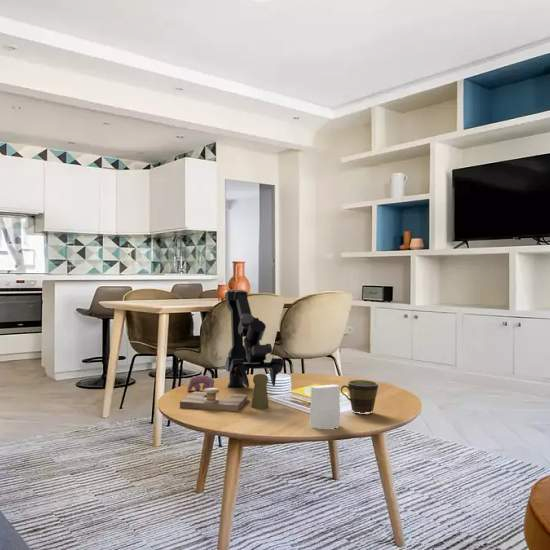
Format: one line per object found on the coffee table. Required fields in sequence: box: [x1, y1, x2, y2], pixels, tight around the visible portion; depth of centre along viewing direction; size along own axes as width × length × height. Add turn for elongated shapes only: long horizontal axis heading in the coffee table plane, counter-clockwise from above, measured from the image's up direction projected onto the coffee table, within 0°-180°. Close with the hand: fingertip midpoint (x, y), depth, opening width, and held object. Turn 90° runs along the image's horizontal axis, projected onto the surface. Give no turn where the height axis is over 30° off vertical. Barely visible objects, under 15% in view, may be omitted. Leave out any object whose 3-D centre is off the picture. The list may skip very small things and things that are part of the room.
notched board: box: [179, 387, 249, 412], centre depth 188 cm, size 16×20×6 cm
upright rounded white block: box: [309, 383, 341, 430], centre depth 164 cm, size 9×9×12 cm
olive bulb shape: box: [250, 373, 269, 409], centre depth 186 cm, size 6×6×11 cm
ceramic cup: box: [340, 379, 379, 413], centre depth 180 cm, size 13×10×10 cm
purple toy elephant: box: [187, 374, 215, 392], centre depth 208 cm, size 10×5×7 cm, turn 85°
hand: (261, 386), depth 185 cm, fingers open, 9 cm apart
